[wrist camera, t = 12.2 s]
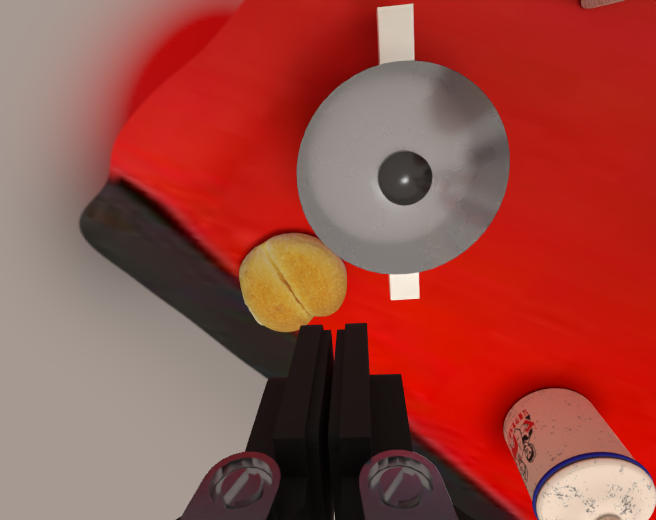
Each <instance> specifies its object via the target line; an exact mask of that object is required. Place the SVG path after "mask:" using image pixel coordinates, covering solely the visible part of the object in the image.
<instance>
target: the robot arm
mask: <svg viewBox="0 0 656 520" xmlns="http://www.w3.org/2000/svg"><path fill="white" fill-rule="evenodd" d="M334 512H335V520H474V519H473V518H472V517H470V516H469V515H467V514H466V513H464V512H463V511H462V510H460V509H459V508H457V507H456V506H455V505H453V504H452V502H451V499H450V497H449V494H448V492H447V490H446V487H445V485H444V482H443V480H442V477H441V475H440V473H439V472H438V470H437V468H436V467H435V465H433V464H432V463H431V462H430V461H429V460H428V459H427V458H425V457H423V456H421V455H419V454H417V453H415V452H413V450H412V443H411V437H410V430H409V423H408V417H407V410H406V403H405V397H404V390H403V383H402V377H401V374H383V375H370V373H369V354H368V335H367V323H353V324H345V329H344V330H337V337H336V349H335V360H334V357H333V345H332V334H331V330H323V325H301V326H300V330H299V334H298V338H297V342H296V346H295V350H294V354H293V358H292V362H291V366H290V370H289V374H288V377H270V378H269V379H268V381H267V384H266V387H265V390H264V393H263V396H262V399H261V403H260V406H259V409H258V412H257V415H256V419H255V422H254V425H253V428H252V431H251V435H250V437H249V441H248V444H247V447H246V450H245V452H241V453H237V454H233V455H231V456H229V457H226V458H224V459H222V460H221V461H219V462H218V463H217V464H215V465H214V466H213V467H212V468H211V469H210V470H209V471H208V473H207V474H206V475H205V477H204V478H203V480H202V482H201V483H200V485H199V487H198V489H197V490H196V492H195V494H194V495H193V497H192V499H191V501H190V502H189V504H188V506H187V507H186V509H185V511H184V513H183V515H182V516H181V517H179V518H178V519H176V520H334Z"/></svg>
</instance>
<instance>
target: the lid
mask: <svg viewBox="0 0 656 520" xmlns="http://www.w3.org/2000/svg"><path fill="white" fill-rule="evenodd" d="M509 168H510V158H509V146H508V139H507V136H506V132H505V129H504V125H503V123H502V121H501V119H500V116H499V114H498V112H497V110H496V109H495V107H494V106H493V104H492V103H491V101H490V100H489V98H488V97H487V96H486V95H485V94H484V93H483V91H482V90H481V89H480V88H479V87H477V86H476V85H475V84H474V83H473V82H472V81H470V80H469V79H468V78H466V77H464V76H463V75H461V74H460V73H458V72H456V71H454V70H452V69H449V68H447V67H445V66H442V65H438V64H434V63H430V62H424V61H415V60H411V61H395V62H389V63H384V64H381V65H377V66H374V67H371V68H368V69H366V70H364V71H362V72H360V73H358V74H356V75H354V76H353V77H351V78H350V79H348V80H346V81H345V82H343V83H342V84H341V85H340V86H338V87H337V88H336V89H335V90H334V91H333V92H331V93H330V95H329V96H328V97H327V98H326V99H325V100H324V101H323V102H322V104H321V105H320V106H319V108H318V109H317V111H316V112H315V114H314V115H313V117H312V119H311V121H310V123H309V125H308V127H307V128H306V131H305V133H304V136H303V139H302V142H301V145H300V150H299V155H298V161H297V187H298V193H299V198H300V202H301V205H302V208H303V211H304V214H305V216H306V218H307V220H308V222H309V224H310V226H311V227H312V229H313V230H314V232H315V233H316V235H317V236H318V237H319V239H320V240H321V241H322V242H323V243H324V244H325V245H326V246H327V247H328V248H329V249H330V250H331V251H332V252H333V253H335V254H336V255H337V256H339V257H340V258H342V259H343V260H345V261H347V262H349V263H351V264H353V265H355V266H357V267H359V268H362V269H365V270H368V271H372V272H377V273H382V274H392V275H396V274H411V273H418V272H422V271H426V270H429V269H432V268H435V267H437V266H440V265H442V264H445V263H446V262H448V261H450V260H452V259H454V258H455V257H457V256H458V255H460V254H461V253H463V252H464V251H465V250H467V249H468V248H469V247H470V246H471V245H472V244H473V243H474V242H476V241H477V240H478V238H479V237H480V236H481V235H482V234H483V233H484V232H485V230H486V229H487V228H488V226H489V225H490V223H491V222H492V220H493V219H494V217H495V215H496V213H497V211H498V209H499V207H500V205H501V202H502V200H503V197H504V194H505V191H506V187H507V183H508V176H509Z"/></svg>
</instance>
